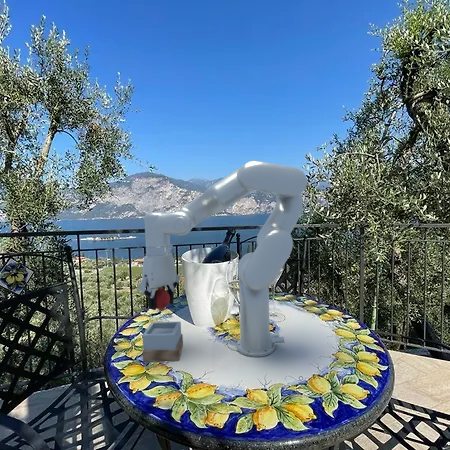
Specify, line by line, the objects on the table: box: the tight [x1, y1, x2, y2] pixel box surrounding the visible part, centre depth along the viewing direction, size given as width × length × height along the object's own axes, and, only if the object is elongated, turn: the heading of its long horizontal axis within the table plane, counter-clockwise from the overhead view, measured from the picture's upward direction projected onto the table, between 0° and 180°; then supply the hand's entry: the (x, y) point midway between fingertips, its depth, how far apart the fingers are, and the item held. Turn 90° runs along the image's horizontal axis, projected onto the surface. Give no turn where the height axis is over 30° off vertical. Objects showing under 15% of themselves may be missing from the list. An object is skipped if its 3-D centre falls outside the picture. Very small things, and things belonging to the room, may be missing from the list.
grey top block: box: [142, 321, 182, 351], centre depth 101 cm, size 10×10×5 cm
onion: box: [154, 286, 170, 311], centre depth 99 cm, size 6×6×8 cm
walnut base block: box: [142, 333, 184, 364], centre depth 101 cm, size 11×11×4 cm
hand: (161, 305), depth 99 cm, fingers closed on onion, 5 cm apart
